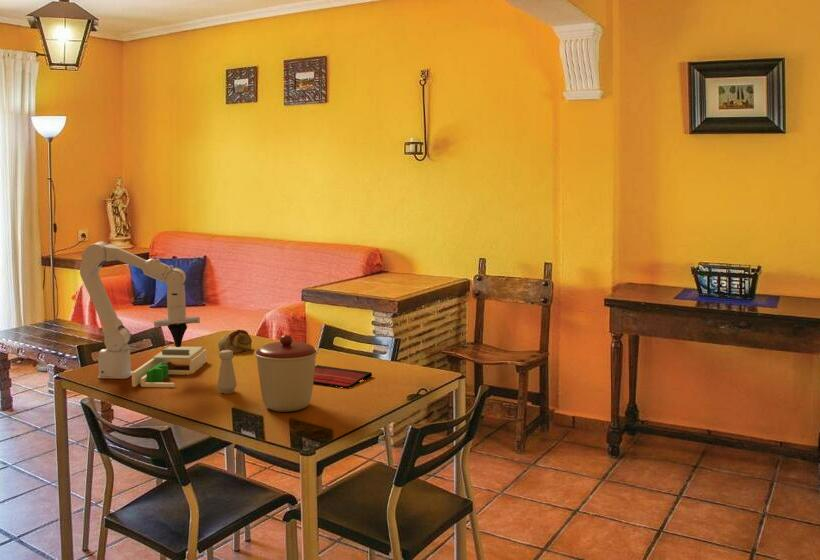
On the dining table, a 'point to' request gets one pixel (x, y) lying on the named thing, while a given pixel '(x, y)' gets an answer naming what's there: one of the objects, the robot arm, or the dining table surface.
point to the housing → (194, 365)
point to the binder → (338, 376)
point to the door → (178, 352)
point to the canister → (286, 374)
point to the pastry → (235, 341)
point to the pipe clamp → (157, 373)
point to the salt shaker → (226, 373)
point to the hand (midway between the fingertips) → (178, 346)
